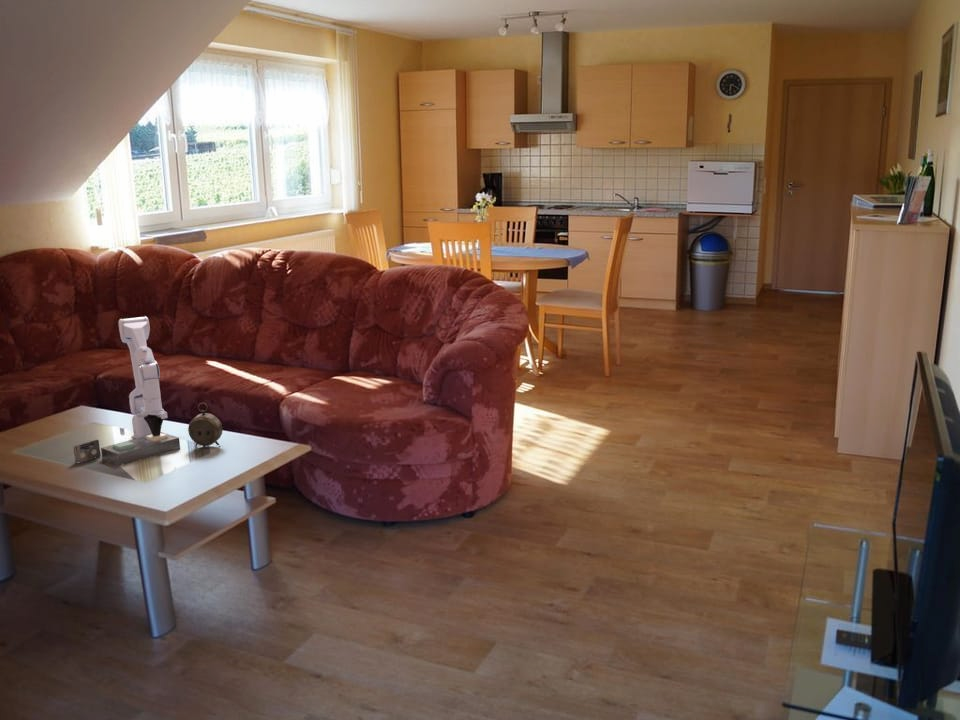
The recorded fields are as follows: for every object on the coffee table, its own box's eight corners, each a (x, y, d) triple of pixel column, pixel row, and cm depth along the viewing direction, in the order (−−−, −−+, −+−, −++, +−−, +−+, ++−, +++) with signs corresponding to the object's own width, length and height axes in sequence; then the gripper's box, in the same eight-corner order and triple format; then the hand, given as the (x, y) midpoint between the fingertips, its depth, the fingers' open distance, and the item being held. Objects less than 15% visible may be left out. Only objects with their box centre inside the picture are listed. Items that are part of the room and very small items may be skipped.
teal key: (114, 456, 292) (112, 444, 291) (128, 452, 296) (126, 440, 295) (121, 458, 289) (120, 447, 288) (135, 454, 292) (134, 443, 292)
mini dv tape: (98, 456, 297) (96, 439, 295) (100, 456, 296) (98, 439, 295) (75, 462, 290) (73, 445, 289) (77, 463, 289) (75, 446, 288)
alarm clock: (224, 445, 303) (220, 400, 300) (218, 450, 298) (214, 404, 295) (194, 445, 304) (189, 400, 301) (188, 450, 299) (183, 404, 296)
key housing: (102, 459, 293) (100, 447, 292) (162, 442, 309) (161, 432, 308) (119, 465, 285) (118, 454, 284) (180, 448, 301) (179, 437, 300)
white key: (147, 447, 301) (146, 436, 300) (160, 443, 305) (159, 432, 304) (154, 449, 298) (153, 438, 297) (168, 445, 301) (166, 434, 300)
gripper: (130, 397, 299) (135, 435, 302) (152, 403, 290) (156, 441, 293) (149, 393, 304) (153, 430, 307) (171, 398, 295) (175, 436, 298)
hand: (156, 435), depth 300 cm, fingers closed, pressing on white key
